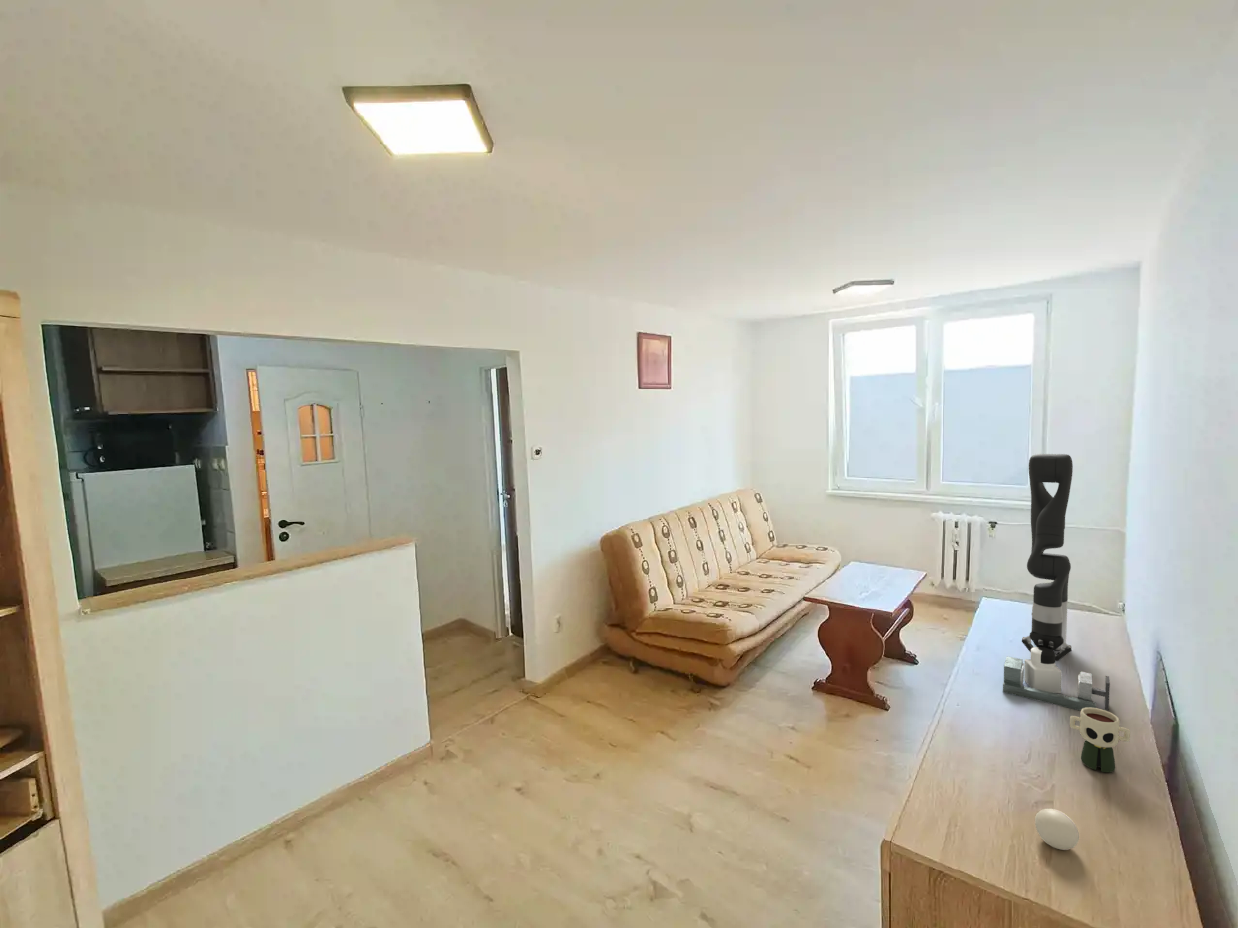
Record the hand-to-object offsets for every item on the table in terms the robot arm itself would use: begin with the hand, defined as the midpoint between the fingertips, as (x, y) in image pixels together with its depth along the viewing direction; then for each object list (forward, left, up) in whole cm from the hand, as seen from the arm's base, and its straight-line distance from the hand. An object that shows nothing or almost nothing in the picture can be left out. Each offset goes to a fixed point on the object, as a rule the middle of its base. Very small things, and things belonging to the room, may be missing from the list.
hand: (1045, 670), depth 175 cm
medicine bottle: (+6, -1, -3) cm, 7 cm away
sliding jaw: (+9, +11, -3) cm, 15 cm away
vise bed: (+11, +1, -3) cm, 11 cm away
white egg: (+79, +5, -3) cm, 79 cm away
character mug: (+44, +12, -3) cm, 45 cm away
